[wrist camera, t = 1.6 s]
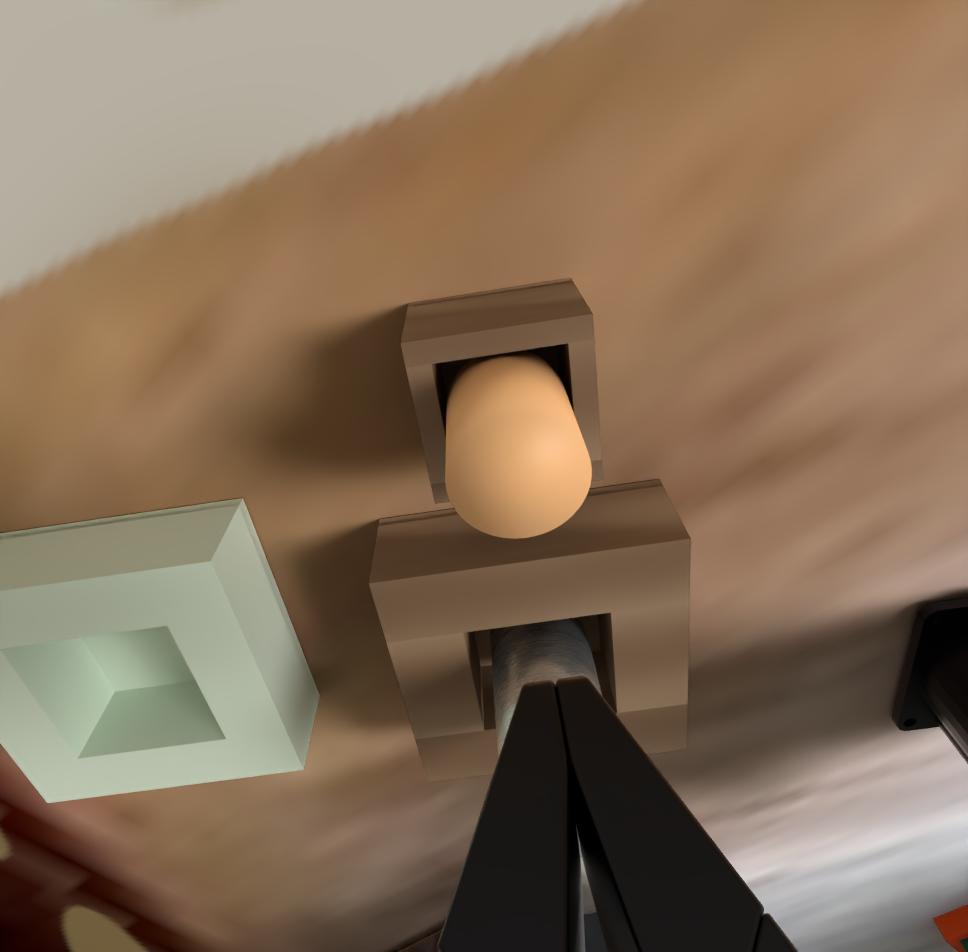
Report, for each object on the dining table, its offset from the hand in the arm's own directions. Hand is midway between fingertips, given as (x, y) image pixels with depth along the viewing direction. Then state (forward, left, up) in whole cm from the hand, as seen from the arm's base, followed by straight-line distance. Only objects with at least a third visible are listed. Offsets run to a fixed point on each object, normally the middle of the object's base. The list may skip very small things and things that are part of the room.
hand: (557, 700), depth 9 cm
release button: (0, 0, -9) cm, 9 cm away
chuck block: (-9, 0, -12) cm, 15 cm away
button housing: (0, 0, -12) cm, 12 cm away
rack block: (-7, +13, -12) cm, 19 cm away
